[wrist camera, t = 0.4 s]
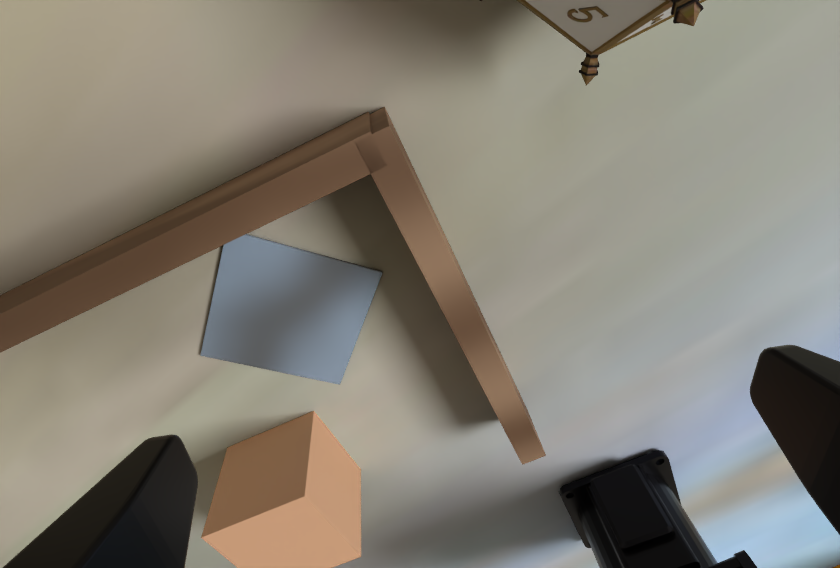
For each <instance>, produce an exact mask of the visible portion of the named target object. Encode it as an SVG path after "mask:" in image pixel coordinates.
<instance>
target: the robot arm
mask: <svg viewBox="0 0 840 568" xmlns="http://www.w3.org/2000/svg"><path fill="white" fill-rule="evenodd" d="M750 395H751V399H752V402H753V404H754V406H755V408H756V409H757V411H758V412H759V414H760V416H761V417H762V419H763V421H764V422H765V424H766V425H767V427H768V429H769V430H770V432H771V434H772V435H773V437H774V438H775V440H776V442H777V443H778V445H779V447H780V448H781V450H782V451H783V453H784V455H785V456H786V458H787V460H788V461H789V463H790V464H791V466H792V468H793V469H794V471H795V472H796V474H797V476H798V477H799V479H800V480H801V482H802V483H803V485H804V487H805V488H806V490H807V491H808V493H809V494H810V495H811V497H812V498H813V500H814V501H815V502H816V504H817V505H818V507H819V508H820V509H821V511H822V512H823V513H824V515H825V516H826V517H827V519H828V520H829V521H830V523H831V524H832V525H833V527H834V528H835V529H836V531H837V532H838V533H839V535H840V362H839V361H836V360H833V359H831V358H828V357H825V356H823V355H820V354H817V353H814V352H812V351H809V350H806V349H804V348H801V347H798V346H795V345H784V346H777V347H770V348H767V349H764V350H763V351H762V352H761V354H760V356H759V359H758V362H757V366H756V369H755V372H754V376H753V379H752V383H751V386H750ZM197 486H198V478H197V472H196V469H195V467H194V465H193V463H192V461H191V459H190V457H189V455H188V452H187V450H186V448H185V446H184V444H183V442H182V440H181V439H180V438H179V437H178V436H177V435H166V436H159V437H152V438H149V439H147V440H145V441H144V442H143V443H141V444H140V445H139V446H138V447H137V448H136V449H135V450H134V451H133V452H131V453H130V454H129V455H128V456H127V457H126V458H125V459H124V460H122V461H121V462H120V463H119V464H118V465H117V466H116V467H115V468H114V469H112V470H111V471H110V472H109V473H108V474H107V475H106V476H105V477H103V478H102V479H101V480H100V481H99V482H98V483H97V484H96V485H95V486H93V487H92V488H91V489H90V490H89V491H88V492H87V493H86V494H84V495H83V496H82V497H81V498H80V499H79V500H78V501H77V502H76V503H74V504H73V505H72V506H71V507H70V508H69V509H68V510H67V511H65V512H64V513H63V514H62V515H61V516H60V517H59V518H58V519H57V520H55V521H54V522H53V523H52V524H51V525H50V526H49V527H48V528H46V529H45V530H44V531H43V532H42V533H41V534H40V535H39V536H38V537H36V538H35V539H34V540H33V541H32V542H31V543H30V544H29V545H27V546H26V547H25V548H24V549H23V550H22V551H21V552H20V553H19V554H17V555H16V556H15V557H14V558H13V559H12V560H11V561H10V562H8V563H7V564H6V565H5V566H4V567H3V568H185V562H186V556H187V549H188V543H189V537H190V531H191V524H192V518H193V512H194V506H195V499H196V493H197ZM559 492H560V495H561V497H562V500H563V502H564V504H565V506H566V508H567V510H568V512H569V514H570V516H571V518H572V520H573V522H574V524H575V527H576V529H577V531H578V533H579V535H580V537H581V539H582V541H583V543H584V545H585V547H587V548H592V551H593V553H594V555H595V558H596V560H597V562H598V565H599V567H600V568H757V566H756V565H755V564H754V562H753V561H752V560H751V558H750V557H749V556H748V554H747V553H746V552H745V551H744V550H743V551H741V552H738V553H736V554H734V557H732V558H729V559H727V560H725V561H722V562H720V563H717V561H716V560H715V558H714V557H713V555H712V553H711V552H710V550H709V549H708V547H707V546H706V544H705V542H704V541H703V539H702V538H701V536H700V535H699V533H698V531H697V530H696V528H695V527H694V525H693V523H692V522H691V520H690V519H689V517H688V516H687V514H686V512H685V511H684V509H683V508H682V506H681V503H680V499H679V495H678V492H677V488H676V484H675V481H674V477H673V473H672V470H671V466H670V462H669V459H668V457H667V456H666V454H665V453H664V451H660V450H658V451H654V452H652V453H649V454H646V455H644V456H641V457H639V458H636V459H633V460H631V461H628V462H625V463H623V464H620V465H617V466H615V467H612V468H609V469H607V470H604V471H601V472H599V473H596V474H593V475H591V476H588V477H586V478H583V479H580V480H578V481H575V482H572V483H570V484H567V485H565V486H563V487H562V488H561V489H560V491H559Z"/></svg>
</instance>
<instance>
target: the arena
mask: <svg viewBox="0 0 840 568" xmlns="http://www.w3.org/2000/svg"><path fill="white" fill-rule="evenodd" d="M369 174H371V176H372V178H373V179H374V181H375V183H376V185H377V187H378V189H379V191H380V193H381V195H382V197H383V199H384V201H385V202H386V204H387V206H388V208H389V210H390V212H391V214H392V216H393V218H394V220H395V222H396V224H397V225H398V227H399V229H400V231H401V233H402V235H403V237H404V239H405V241H406V243H407V245H408V246H409V248H410V250H411V252H412V254H413V256H414V258H415V260H416V262H417V264H418V266H419V268H420V269H421V271H422V273H423V275H424V277H425V279H426V281H427V283H428V285H429V287H430V289H431V291H432V292H433V294H434V296H435V298H436V300H437V302H438V304H439V306H440V308H441V310H442V312H443V313H444V315H445V317H446V319H447V321H448V323H449V325H450V327H451V329H452V331H453V333H454V335H455V336H456V338H457V340H458V342H459V344H460V346H461V348H462V350H463V352H464V354H465V356H466V358H467V359H468V361H469V363H470V365H471V367H472V369H473V371H474V373H475V375H476V377H477V379H478V380H479V382H480V384H481V386H482V388H483V390H484V392H485V394H486V396H487V398H488V400H489V402H490V403H491V405H492V407H493V409H494V411H495V413H496V415H497V417H498V419H499V421H500V423H501V425H502V426H503V428H504V430H505V432H506V434H507V436H508V438H509V440H510V442H511V444H512V446H513V447H514V449H515V451H516V453H517V455H518V457H519V459H520V461H521V463H522V465H523V464H525V463H528V462H530V461H533V460H536V459H538V458H541V457H543V456H546V454H545V452H544V450H543V447H542V445H541V442H540V440H539V437H538V435H537V432H536V430H535V428H534V425H533V423H532V420H531V418H530V415H529V413H528V410H527V408H526V406H525V404H524V402H523V400H522V398H521V395H520V393H519V391H518V389H517V387H516V385H515V383H514V381H513V378H512V376H511V374H510V372H509V370H508V368H507V366H506V364H505V362H504V359H503V357H502V355H501V353H500V351H499V349H498V347H497V345H496V342H495V340H494V338H493V336H492V334H491V332H490V330H489V328H488V325H487V323H486V321H485V319H484V317H483V315H482V313H481V311H480V308H479V306H478V304H477V302H476V300H475V298H474V296H473V294H472V291H471V289H470V287H469V285H468V283H467V281H466V279H465V277H464V274H463V272H462V270H461V268H460V266H459V264H458V262H457V260H456V257H455V255H454V253H453V251H452V249H451V247H450V245H449V243H448V240H447V238H446V236H445V234H444V232H443V230H442V228H441V226H440V223H439V221H438V219H437V217H436V215H435V213H434V211H433V209H432V206H431V204H430V202H429V200H428V198H427V196H426V194H425V192H424V189H423V187H422V185H421V183H420V181H419V179H418V177H417V175H416V172H415V170H414V168H413V166H412V164H411V162H410V160H409V158H408V155H407V153H406V151H405V149H404V147H403V145H402V143H401V141H400V138H399V136H398V134H397V132H396V130H395V128H394V126H393V124H392V121H391V119H390V117H389V115H388V113H387V111H386V109H385V107H383V108H381V109H379V110H377V111H375V112H373V113H371V114H369V112H367V113H365V114H363V115H361V116H359V117H357V118H355V119H353V120H351V121H349V122H347V123H345V124H343V125H341V126H339V127H337V128H335V129H333V130H331V131H329V132H327V133H325V134H323V135H321V136H319V137H317V138H315V139H313V140H311V141H309V142H307V143H305V144H303V145H301V146H299V147H297V148H295V149H293V150H291V151H289V152H287V153H285V154H283V155H281V156H279V157H277V158H275V159H273V160H271V161H269V162H267V163H265V164H263V165H261V166H259V167H257V168H255V169H253V170H251V171H249V172H247V173H245V174H243V175H241V176H239V177H237V178H235V179H233V180H231V181H229V182H227V183H225V184H223V185H221V186H219V187H217V188H215V189H213V190H211V191H209V192H207V193H205V194H203V195H201V196H199V197H197V198H195V199H193V200H191V201H189V202H187V203H185V204H183V205H181V206H179V207H177V208H175V209H173V210H171V211H169V212H167V213H165V214H163V215H161V216H159V217H157V218H155V219H153V220H151V221H149V222H147V223H145V224H143V225H141V226H139V227H137V228H135V229H133V230H131V231H129V232H127V233H125V234H123V235H121V236H119V237H117V238H115V239H112V240H110V241H108V242H106V243H104V244H102V245H100V246H98V247H96V248H94V249H92V250H90V251H88V252H86V253H84V254H82V255H80V256H78V257H76V258H74V259H72V260H70V261H68V262H66V263H64V264H62V265H60V266H58V267H56V268H54V269H52V270H50V271H48V272H46V273H44V274H42V275H40V276H38V277H36V278H34V279H32V280H30V281H28V282H26V283H24V284H22V285H20V286H18V287H16V288H14V289H12V290H10V291H8V292H6V293H4V294H2V295H0V352H2V351H4V350H6V349H9V348H11V347H13V346H15V345H17V344H19V343H21V342H23V341H25V340H27V339H29V338H31V337H33V336H35V335H38V334H40V333H42V332H44V331H46V330H48V329H50V328H52V327H54V326H56V325H58V324H60V323H62V322H65V321H67V320H69V319H71V318H73V317H75V316H77V315H79V314H81V313H83V312H85V311H87V310H89V309H92V308H94V307H96V306H98V305H100V304H102V303H104V302H106V301H108V300H110V299H112V298H114V297H116V296H118V295H121V294H123V293H125V292H127V291H129V290H131V289H133V288H135V287H137V286H139V285H141V284H143V283H145V282H148V281H150V280H152V279H154V278H156V277H158V276H160V275H162V274H164V273H166V272H168V271H170V270H172V269H174V268H177V267H179V266H181V265H183V264H185V263H187V262H189V261H191V260H193V259H195V258H197V257H199V256H201V255H204V254H206V253H208V252H210V251H212V250H214V249H216V248H218V247H220V246H222V245H224V246H223V250H222V255H221V260H220V265H219V270H218V274H217V279H216V284H215V289H214V293H213V298H212V303H211V308H210V312H209V317H208V322H207V327H206V332H205V336H204V341H203V346H202V351H201V356H205V357H210V358H215V359H220V360H225V361H229V362H234V363H239V364H244V365H249V366H253V367H258V368H263V369H268V370H273V371H277V372H282V373H287V374H292V375H296V376H301V377H306V378H311V379H316V380H320V381H325V382H330V383H335V384H340V383H341V380H342V378H343V375H344V372H345V370H346V367H347V365H348V362H349V359H350V357H351V354H352V351H353V349H354V346H355V344H356V341H357V338H358V336H359V333H360V330H361V328H362V325H363V323H364V320H365V317H366V315H367V312H368V309H369V307H370V304H371V302H372V299H373V296H374V294H375V291H376V288H377V286H378V283H379V281H380V278H381V275H382V272H381V271H378V270H374V269H370V268H367V267H363V266H359V265H356V264H352V263H349V262H345V261H341V260H338V259H334V258H330V257H327V256H323V255H320V254H316V253H312V252H309V251H305V250H302V249H298V248H294V247H291V246H287V245H283V244H280V243H276V242H273V241H269V240H265V239H262V238H258V237H255V236H251V235H247V233H249V232H251V231H253V230H255V229H257V228H260V227H262V226H264V225H266V224H268V223H270V222H272V221H274V220H276V219H278V218H280V217H282V216H284V215H287V214H289V213H291V212H293V211H295V210H297V209H299V208H301V207H303V206H305V205H307V204H309V203H311V202H313V201H316V200H318V199H320V198H322V197H324V196H326V195H328V194H330V193H332V192H334V191H336V190H338V189H340V188H343V187H345V186H347V185H349V184H351V183H353V182H355V181H357V180H359V179H361V178H363V177H365V176H367V175H369Z"/></svg>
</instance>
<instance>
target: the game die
mask: <svg viewBox="0 0 840 568" xmlns="http://www.w3.org/2000/svg"><path fill="white" fill-rule="evenodd" d="M480 1H482V0H480ZM517 1H518V2H520V3H521V4H522V5H524V6H525V7H526V8H528V9H529V10H530V11H532V12H533V13H534V14H536V15H537V16H538V17H540V18H541V19H542V20H544V21H545V22H546V23H547V24H549V25H550V26H551V27H553V28H554V29H555V30H557V31H558V32H559V33H561V34H562V35H563V36H565V37H566V38H567V39H569V40H570V41H571V42H573V43H574V44H575V45H576V46H578V47H579V48H580V49H582V50H583V51H584V52H586V58H585V60H584V61H583V62H581V65H582V68H581V70H579V73H581V74H582V77H583V79H584V81H585V84H586V85H587V84H588V83H589V82H590V81H591V80H592V79H593V78H594V77H595V75H598V71H597V67H599V62H598V59H597V58H598V55H599V54H601V53H603V52H605V51H607V50H609V49H611V48H613V47H615V46H617V45H619V44H621V43H623V42H625V41H627V40H629V39H631V38H633V37H635V36H637V35H639V34H641V33H643V32H645V31H647V30H649V29H651V28H653V27H655V26H657V25H658V24H660V23H662V22H664V21H666V20H668V19H670V18H672V17H674V20H673V22H674V23H684V24H688V25H691V26H694V24H695V22H696V19H697V17H698V15H699V13H700V12H701V11H702V9H703V6H702V5H701V4H700V3H702V2H704V1H706V0H517Z"/></svg>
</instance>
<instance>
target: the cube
mask: <svg viewBox="0 0 840 568" xmlns="http://www.w3.org/2000/svg"><path fill="white" fill-rule="evenodd" d="M201 538H202V539H204V540H205V541H206V542H207V543H208V544H210V545H211V546H212V547H213V548H214V549H216V550H217V551H218V552H219V553H220V554H222V555H223V556H224V557H225V558H226V559H228V560H229V561H230V562H231V563H232V564H234V565H235V566H236V567H237V568H332V567H335V566H338V565H340V564H343V563H346V562H348V561H351V560H354V559H356V558H359V557H361V469H360V468H359V467H358V465H357V464H356V463H355V462H354V460H353V459H352V458H351V457H350V455H349V454H348V453H347V452H346V450H345V449H344V448H343V447H342V445H341V444H340V443H339V442H338V440H337V439H336V438H335V437H334V435H333V434H332V433H331V432H330V430H329V429H328V428H327V427H326V425H325V424H324V423H323V422H322V420H321V419H320V418H319V417H318V415H317V414H316V413H315V412H314V411H312V412H310V413H308V414H305V415H303V416H301V417H298V418H296V419H294V420H291V421H289V422H286V423H284V424H282V425H279V426H277V427H275V428H272V429H270V430H268V431H265V432H263V433H260V434H258V435H256V436H253V437H251V438H249V439H246V440H244V441H242V442H239V443H237V444H234V445H232V446H230V447H227V451H226V454H225V458H224V461H223V465H222V468H221V471H220V475H219V478H218V482H217V485H216V489H215V492H214V496H213V499H212V502H211V506H210V509H209V513H208V516H207V520H206V523H205V527H204V530H203V533H202V537H201Z"/></svg>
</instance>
